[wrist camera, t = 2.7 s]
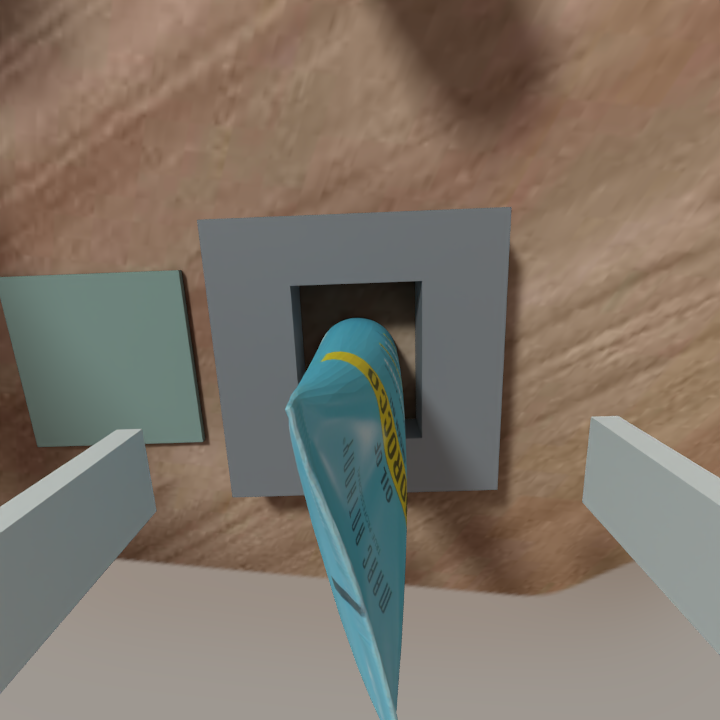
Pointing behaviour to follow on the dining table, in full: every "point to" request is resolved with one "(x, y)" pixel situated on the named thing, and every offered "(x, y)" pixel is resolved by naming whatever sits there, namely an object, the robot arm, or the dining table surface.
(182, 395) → the coaster
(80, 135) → the dining table surface
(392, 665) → the tube
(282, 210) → the dining table surface
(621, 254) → the dining table surface
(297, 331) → the socket board
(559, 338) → the dining table surface
